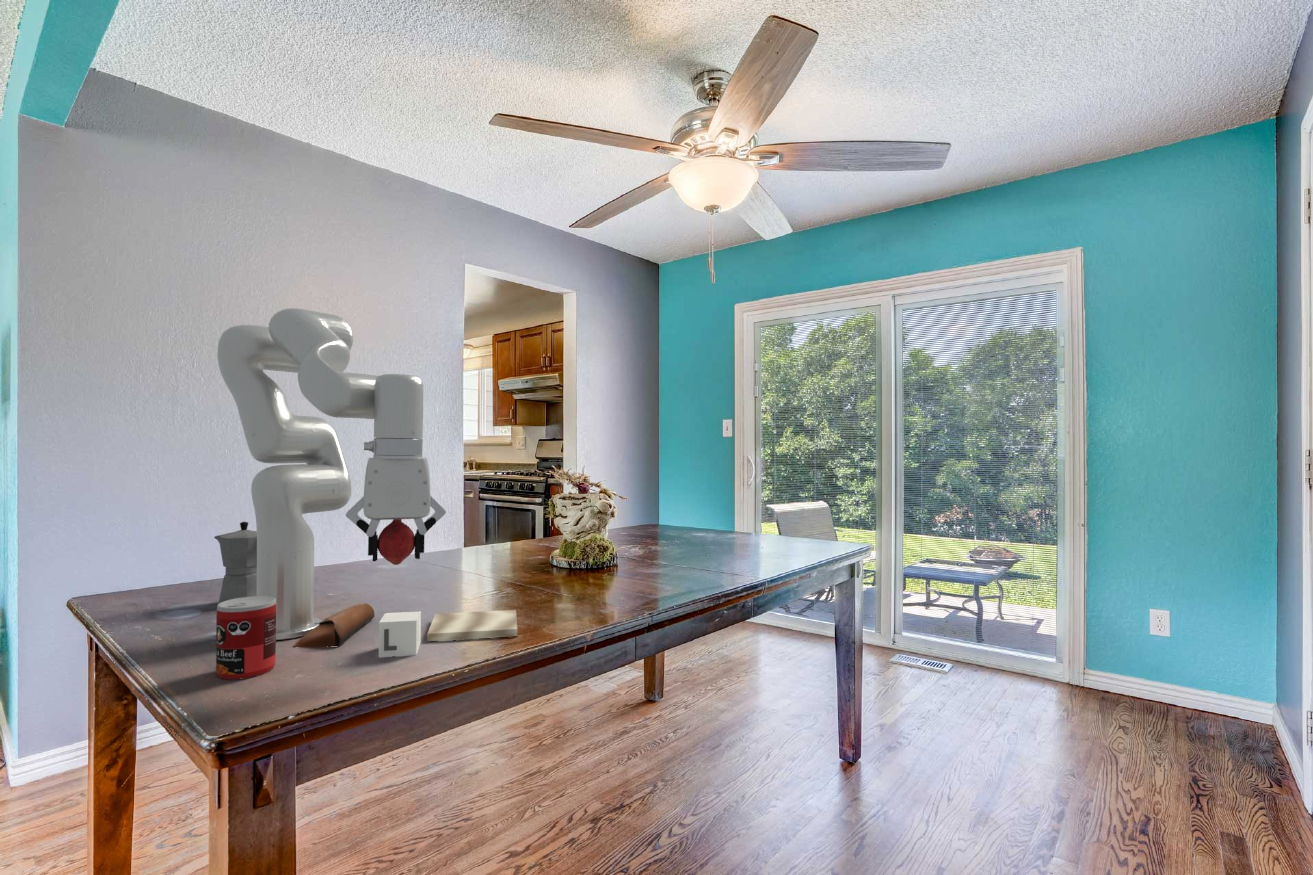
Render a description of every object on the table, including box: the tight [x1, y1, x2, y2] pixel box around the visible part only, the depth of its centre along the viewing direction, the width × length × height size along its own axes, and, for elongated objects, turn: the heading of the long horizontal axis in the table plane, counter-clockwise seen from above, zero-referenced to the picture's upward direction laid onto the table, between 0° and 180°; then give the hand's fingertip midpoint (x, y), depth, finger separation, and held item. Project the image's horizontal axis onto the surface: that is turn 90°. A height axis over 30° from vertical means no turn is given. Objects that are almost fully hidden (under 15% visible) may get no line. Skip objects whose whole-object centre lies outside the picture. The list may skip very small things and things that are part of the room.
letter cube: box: [378, 611, 422, 658], centre depth 114 cm, size 6×6×6 cm
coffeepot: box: [214, 521, 257, 605], centre depth 145 cm, size 15×9×18 cm, turn 87°
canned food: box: [215, 596, 277, 680], centre depth 103 cm, size 8×8×11 cm
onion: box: [378, 519, 415, 566], centre depth 108 cm, size 6×6×8 cm
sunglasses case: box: [293, 603, 375, 648], centre depth 124 cm, size 18×7×7 cm
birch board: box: [426, 609, 518, 642], centre depth 127 cm, size 16×14×2 cm
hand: (396, 557), depth 108 cm, fingers closed on onion, 5 cm apart
